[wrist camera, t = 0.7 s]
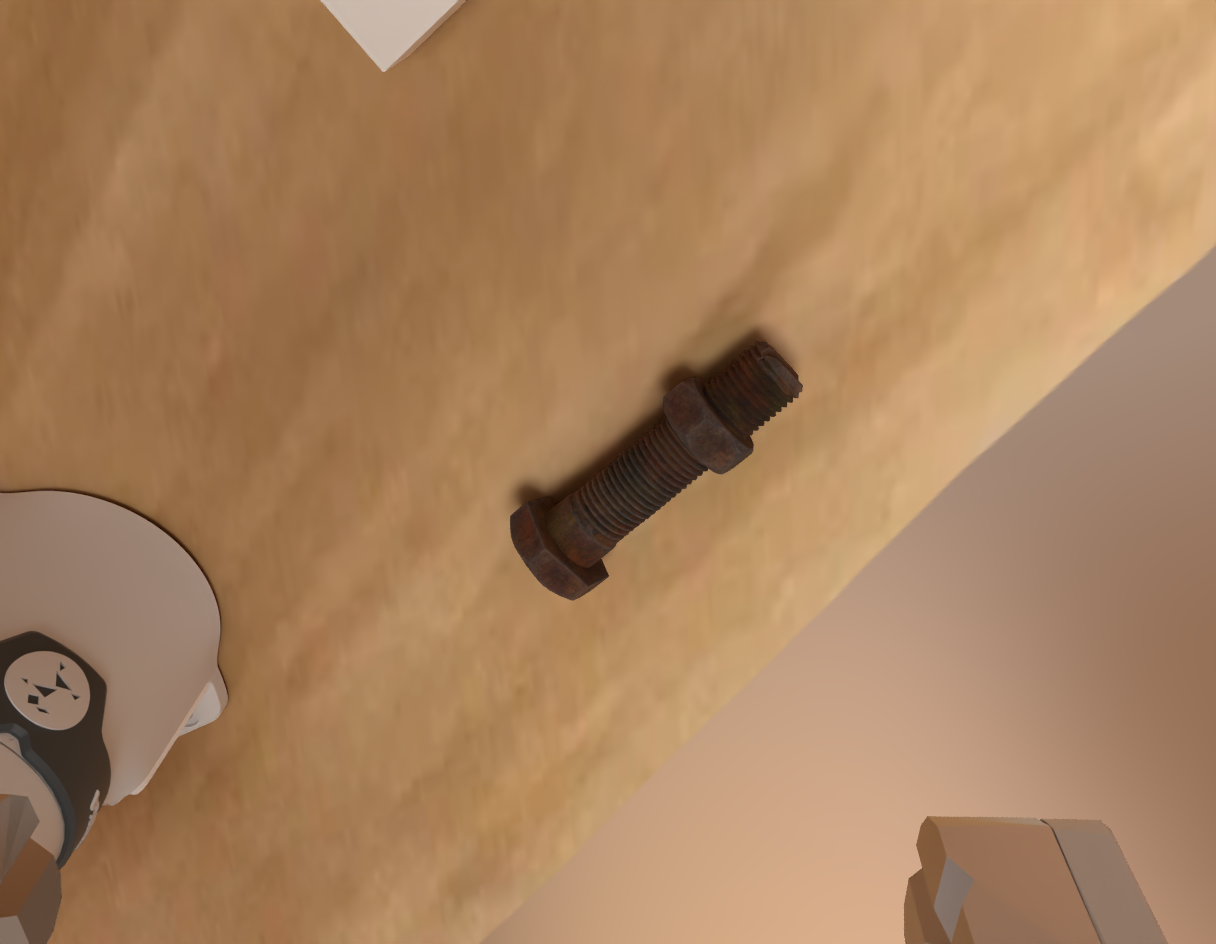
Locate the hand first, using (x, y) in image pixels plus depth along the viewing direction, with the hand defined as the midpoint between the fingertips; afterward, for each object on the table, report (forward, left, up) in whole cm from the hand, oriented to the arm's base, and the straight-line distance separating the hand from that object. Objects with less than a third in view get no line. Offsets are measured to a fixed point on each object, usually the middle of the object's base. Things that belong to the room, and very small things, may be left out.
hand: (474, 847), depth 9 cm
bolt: (-7, -14, -38) cm, 41 cm away
